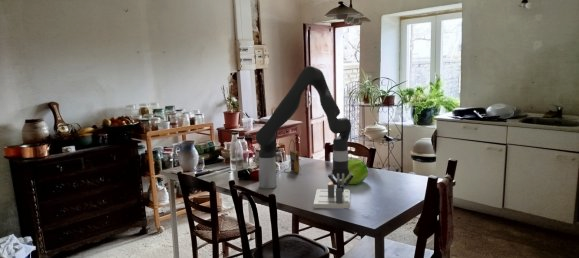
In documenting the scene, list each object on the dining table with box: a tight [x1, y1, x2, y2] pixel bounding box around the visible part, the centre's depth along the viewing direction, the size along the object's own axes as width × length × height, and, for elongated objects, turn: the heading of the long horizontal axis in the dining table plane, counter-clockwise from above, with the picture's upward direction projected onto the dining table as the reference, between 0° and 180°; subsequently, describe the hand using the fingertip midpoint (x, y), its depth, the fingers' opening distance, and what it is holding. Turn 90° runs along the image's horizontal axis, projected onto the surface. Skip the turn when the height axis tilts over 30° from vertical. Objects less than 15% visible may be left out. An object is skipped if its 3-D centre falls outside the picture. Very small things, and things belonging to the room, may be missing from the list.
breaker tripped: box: [327, 181, 335, 197], centre depth 200 cm, size 3×4×6 cm
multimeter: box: [283, 139, 302, 175], centre depth 252 cm, size 15×10×20 cm
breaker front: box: [335, 187, 342, 203], centre depth 192 cm, size 3×4×6 cm
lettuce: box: [344, 158, 369, 185], centre depth 225 cm, size 15×22×15 cm
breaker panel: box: [313, 188, 351, 209], centre depth 201 cm, size 17×22×2 cm
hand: (340, 192), depth 200 cm, fingers closed
